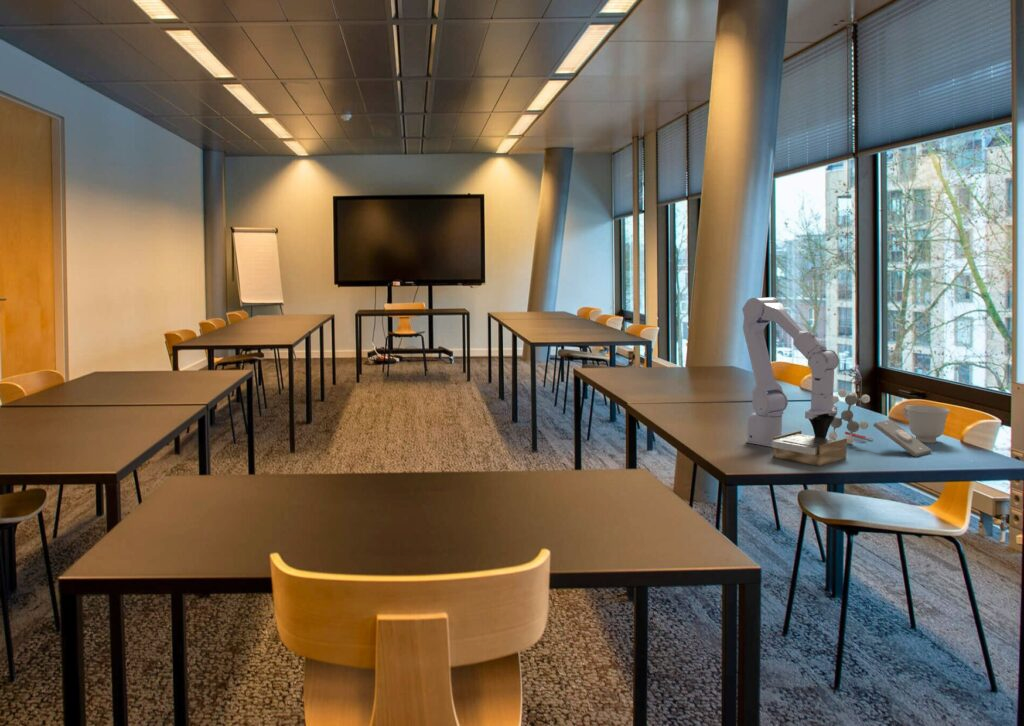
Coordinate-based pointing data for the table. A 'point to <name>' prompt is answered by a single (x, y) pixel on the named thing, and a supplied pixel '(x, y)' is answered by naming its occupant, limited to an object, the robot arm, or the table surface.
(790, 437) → the cover plate
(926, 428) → the teacup
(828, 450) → the oak box
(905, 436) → the light switch
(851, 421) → the molecule model
